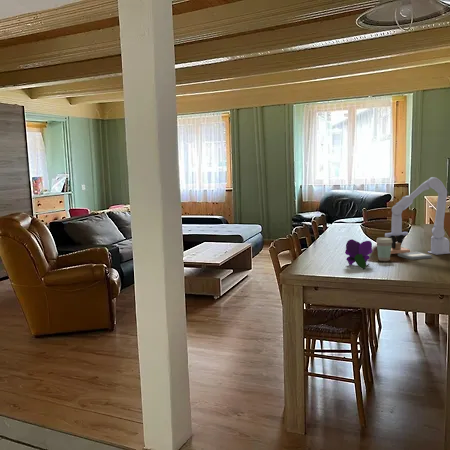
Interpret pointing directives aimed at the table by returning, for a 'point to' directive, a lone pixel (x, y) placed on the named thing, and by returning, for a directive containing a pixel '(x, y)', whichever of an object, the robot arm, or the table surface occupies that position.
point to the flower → (358, 252)
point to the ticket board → (414, 255)
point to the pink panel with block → (399, 249)
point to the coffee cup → (384, 248)
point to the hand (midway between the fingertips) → (396, 248)
